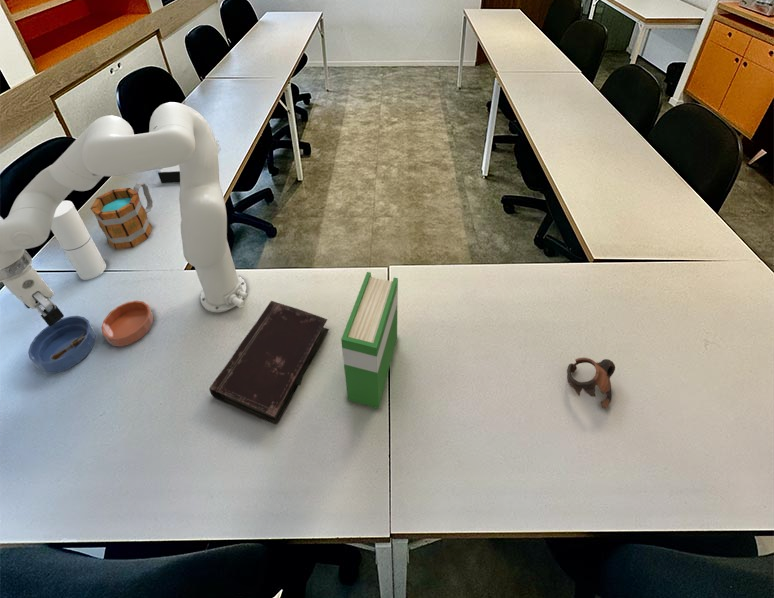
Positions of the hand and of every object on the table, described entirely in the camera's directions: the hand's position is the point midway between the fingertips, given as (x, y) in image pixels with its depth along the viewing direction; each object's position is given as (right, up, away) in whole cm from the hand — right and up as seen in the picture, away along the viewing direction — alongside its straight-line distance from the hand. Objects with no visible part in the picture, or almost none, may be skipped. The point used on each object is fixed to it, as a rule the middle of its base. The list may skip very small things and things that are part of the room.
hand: (45, 312), depth 101 cm
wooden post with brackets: (0, -11, +7) cm, 13 cm away
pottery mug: (+130, -17, -1) cm, 131 cm away
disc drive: (+1, +32, +75) cm, 81 cm away
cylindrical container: (-9, +2, +29) cm, 30 cm away
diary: (+54, -14, +4) cm, 56 cm away
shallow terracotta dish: (+12, -9, +13) cm, 20 cm away
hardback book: (+78, -15, +3) cm, 80 cm away
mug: (-4, +11, +44) cm, 46 cm away
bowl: (-1, -12, +8) cm, 15 cm away
